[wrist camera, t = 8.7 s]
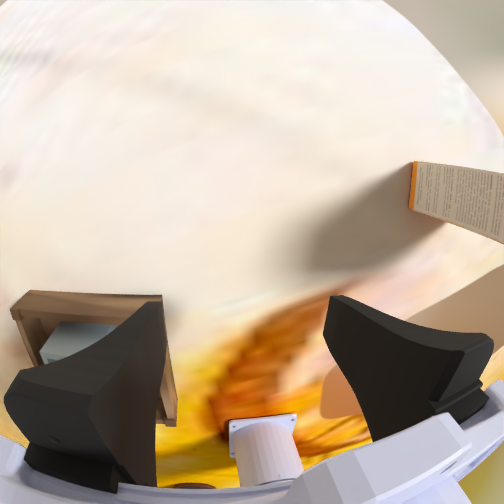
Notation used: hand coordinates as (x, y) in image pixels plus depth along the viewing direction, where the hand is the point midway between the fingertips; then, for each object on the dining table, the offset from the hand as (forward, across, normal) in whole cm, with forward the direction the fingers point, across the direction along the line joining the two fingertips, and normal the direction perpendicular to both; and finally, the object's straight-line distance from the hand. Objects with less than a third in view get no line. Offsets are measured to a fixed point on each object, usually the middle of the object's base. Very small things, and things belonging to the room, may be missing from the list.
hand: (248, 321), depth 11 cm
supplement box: (+10, -20, -6) cm, 23 cm away
